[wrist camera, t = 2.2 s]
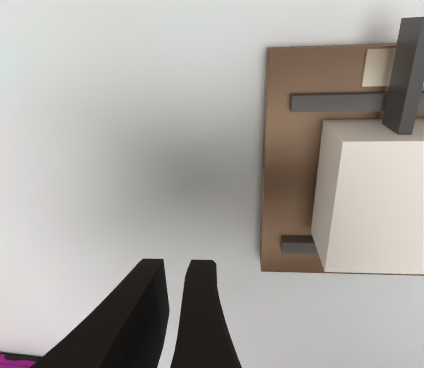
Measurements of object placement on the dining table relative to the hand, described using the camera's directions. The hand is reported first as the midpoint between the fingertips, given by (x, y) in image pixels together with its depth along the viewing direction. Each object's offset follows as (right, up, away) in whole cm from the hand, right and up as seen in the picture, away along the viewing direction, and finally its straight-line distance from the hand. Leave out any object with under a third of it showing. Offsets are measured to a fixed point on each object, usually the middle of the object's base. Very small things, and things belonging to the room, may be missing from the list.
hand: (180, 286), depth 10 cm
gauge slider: (+9, +5, +5) cm, 12 cm away
